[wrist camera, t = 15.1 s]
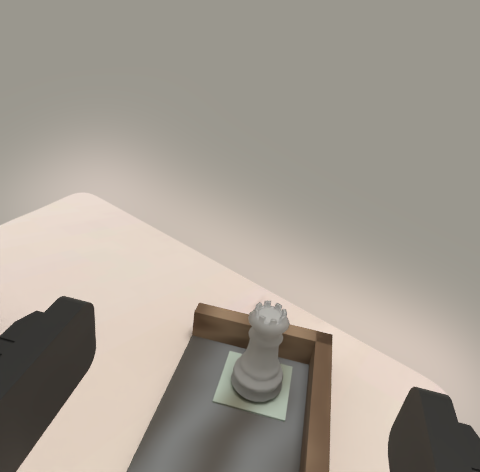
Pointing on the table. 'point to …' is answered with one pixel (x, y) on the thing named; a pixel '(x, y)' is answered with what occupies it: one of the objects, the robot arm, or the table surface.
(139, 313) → the table surface
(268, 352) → the rook chess piece
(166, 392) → the corner arena
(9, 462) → the robot arm
